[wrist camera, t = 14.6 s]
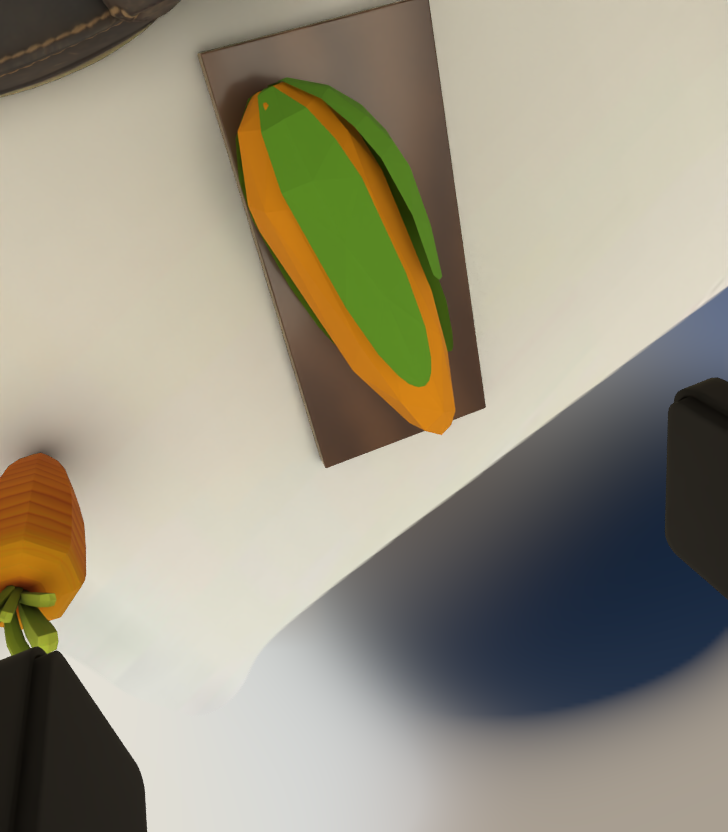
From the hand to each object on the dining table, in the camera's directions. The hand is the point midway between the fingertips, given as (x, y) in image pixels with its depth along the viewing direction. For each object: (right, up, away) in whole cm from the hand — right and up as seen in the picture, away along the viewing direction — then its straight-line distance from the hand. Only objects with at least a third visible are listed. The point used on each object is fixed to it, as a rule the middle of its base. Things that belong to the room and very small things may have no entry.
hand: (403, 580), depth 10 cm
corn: (-1, +11, +27) cm, 29 cm away
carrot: (-18, 0, +27) cm, 32 cm away
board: (-1, +11, +28) cm, 30 cm away
